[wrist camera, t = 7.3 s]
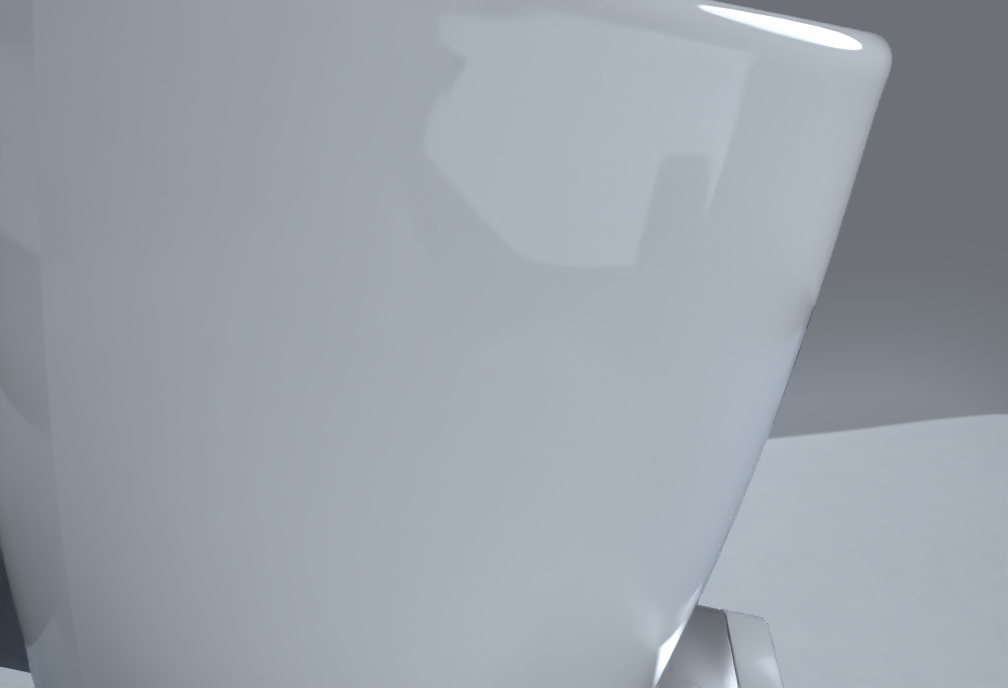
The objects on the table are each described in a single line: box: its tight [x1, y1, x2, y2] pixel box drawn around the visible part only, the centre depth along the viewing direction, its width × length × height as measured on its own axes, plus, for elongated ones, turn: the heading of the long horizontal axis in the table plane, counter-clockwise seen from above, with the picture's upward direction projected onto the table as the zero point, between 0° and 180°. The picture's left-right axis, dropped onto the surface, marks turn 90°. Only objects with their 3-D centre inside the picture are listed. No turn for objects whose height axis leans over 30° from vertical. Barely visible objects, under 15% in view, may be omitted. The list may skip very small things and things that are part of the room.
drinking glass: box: [0, 0, 892, 688], centre depth 9 cm, size 7×7×15 cm
